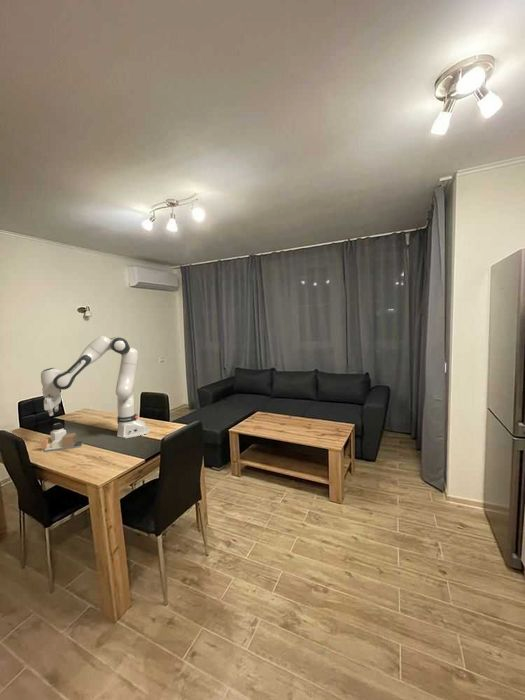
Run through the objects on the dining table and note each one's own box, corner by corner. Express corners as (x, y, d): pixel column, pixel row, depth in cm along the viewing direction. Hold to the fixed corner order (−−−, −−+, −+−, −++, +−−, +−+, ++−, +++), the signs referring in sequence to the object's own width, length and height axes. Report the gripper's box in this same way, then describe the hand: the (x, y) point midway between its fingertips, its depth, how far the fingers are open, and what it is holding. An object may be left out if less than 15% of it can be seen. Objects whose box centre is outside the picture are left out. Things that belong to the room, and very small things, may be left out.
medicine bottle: (67, 440, 202) (65, 423, 201) (55, 443, 196) (54, 426, 195) (62, 437, 206) (61, 421, 205) (51, 441, 200) (49, 424, 199)
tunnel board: (83, 442, 197) (82, 431, 196) (80, 447, 190) (79, 436, 189) (48, 447, 190) (47, 435, 190) (44, 452, 183) (43, 440, 182)
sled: (64, 444, 192) (64, 436, 191) (63, 446, 188) (62, 438, 188) (43, 446, 188) (42, 438, 187) (41, 449, 184) (40, 441, 184)
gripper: (51, 395, 179) (54, 417, 181) (61, 389, 198) (64, 408, 200) (39, 397, 177) (42, 419, 179) (51, 390, 196) (53, 409, 198)
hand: (54, 413), depth 189 cm, fingers open, 8 cm apart
